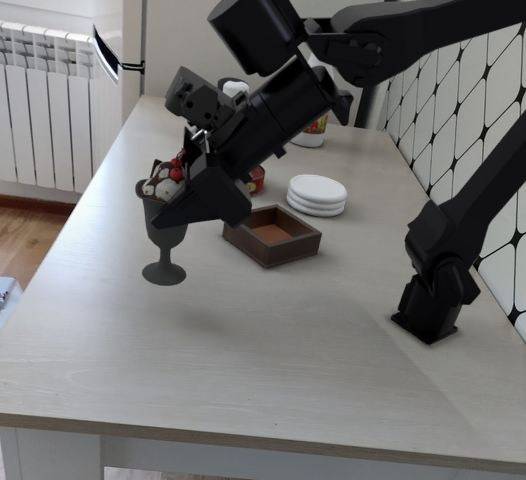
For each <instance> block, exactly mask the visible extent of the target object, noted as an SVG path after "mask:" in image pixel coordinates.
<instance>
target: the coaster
mask: <svg viewBox="0 0 526 480" xmlns="http://www.w3.org/2000/svg"><path fill="white" fill-rule="evenodd" d="M347 197H348V190H347V188H346V187H345V186H344V185H343V184H342V183H340V182H339V181H337V180H335V179H332V178H329V177H327V176H323V175H317V174H298V175H295V176H293V177H292V178H291V179H289V182H288V187H287V193H286V201H287V203H288V204H289V206H291V207H292V208H293V209H294V210H296V211H298V212H300V213H303V214H306V215H309V216H312V217H313V216H314V217H320V218H322V217H323V218H328V217H329V218H331V217H335V216H338V215H340V214H342V212H343V211H344V210H345V204H346V201H347Z"/></svg>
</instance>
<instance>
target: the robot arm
mask: <svg viewBox="0 0 526 480" xmlns="http://www.w3.org/2000/svg"><path fill="white" fill-rule="evenodd" d="M206 21H207V23H208V24H209V26H210V27H211V28H212V30H213V31H214V32H215V34H216V35H217V36H218V38H219V39H220V40H221V42H222V43H223V45H224V46H225V48H226V49H227V50H228V51H229V53H230V54H231V56H232V57H233V59H234V60H235V61H236V63H237V64H238V65H239V67H240V68H241V70H242V71H243V73H244V74H245V75H246V76H252V75H255V74H257V75H258V76H259V77H260V78H267V77H269V76H270V77H269V78H268V79H267V80H266V81H264V82H263V83H262V84H261V85H260V86H258V87H257V88H256V89H255V90H253V91H252V92H251V93H250V92H249V93H248V92H247V91H246V90H245V91H244V92H243V91H242V90H241V91H239V92H238V93H237V94H236V95H235V96H233V97H232V98H231V97H229V96H228V95H227V94H225V93H224V92H222V91H221V90H220V89H218V88H217V86H216V85H214V84H213V83H211V82H209V81H208V80H206V79H205V78H203V77H202V76H200V75H199V74H197V73H196V72H194V71H192V70H191V69H189V68H188V67H186V66H183V65H180V66H179V68H178V70H177V71H176V74H175V75H174V77H173V79H172V81H171V84H170V85H169V86H168V88H167V91H166V93H165V95H164V98H165V101H164V108H165V109H166V110H167V111H168V112H170V113H171V114H172V115H174V116H176V117H177V118H179V117H182V118H183V119H185V120H186V123H187V124H188V126H189V127H190V128H192V127H195V128H193V129H192V130H190V129H189V127H188V126H184V127H183V136H182V137H183V138H182V148H184V149H185V151H186V154H183V155H181V154H182V152H181V153H180V154H179V155H181V156H180V157H179V158H178V159H180V160H181V161H182V167H183V168H184V170H185V174H184V184H183V185H182V186H181V188H180V189H179V190H178V191H177V192H176V193H175V194H174V195H173V196H172V197H171V198H170V199H169V201H168V202H167V203H166V204H165V205H164V206H163V207H162V208H161V209H160V210H159V212H158V213H157V214H156V215H155V216H154V217H153V219H152V220H151V224H152V226H153V227H154V228H155V229H157V230H160V229H166V228H171V227H176V226H181V225H186V224H188V225H191V224H196V223H203V222H210V221H219V220H220V221H222V222H223V223H224V221H225V222H226V223H227V224H228V225H229V226H230V227H231V228H232V229H236V228H237V227H239V226H240V225H241V224H243V223H244V222H245V221H247V220H248V219H249V218H250V217H251V210H252V209H253V202H252V198H251V197H252V196H250V193H249V189H248V188H247V187H246V186H245V185H246V184H247V183H249V182H250V181H251V180H252V179H253V177H252V173H251V171H253V170H254V169H255V168H256V167H258V166H259V165H262V164H263V163H264V162H266V160H268V159H270V158H271V157H272V156H273V155H274V156H275V157H276V158H277V160H281V158H282V157H284V156H285V155H286V154H287V153H288V152H287V150H286V148H285V146H286V145H288V143H290V142H291V140H292V139H294V138H295V137H296V136H298V135H299V134H300V133H301V132H303V131H304V130H305V129H307V128H308V127H309V126H310V125H312V124H313V123H314V122H316V121H317V120H318V119H319V118H321V117H322V116H323V115H325V114H326V113H327V112H328V111H329V112H330V111H331V112H332V113H333V115H334V116H335V118H336V119H337V121H338V122H339V124H340V125H341V127H347V126H348V125H349V123H350V114H351V107H352V104H353V102H354V100H355V97H354V95H353V93H351V91H350V90H348V89H342V88H341V89H340V88H339V86H338V85H337V83H336V82H335V79H334V80H333V79H332V77H331V76H330V74H329V72H328V71H327V69H326V68H325V67H324V66H322V65H319V66H314V67H312V68H311V67H310V65H309V64H308V60H307V59H306V57H305V56H304V55H303V53H302V51H301V49H300V48H299V46H300V45H302V44H303V43H304V44H305V46H306V47H307V48H308V49H309V51H310V52H311V53H313V54H314V55H315V57H316V58H317V59H318V60H319V61H320V62H323V63H326V64H329V65H331V66H332V68H334V70H335V72H337V73H338V74H339V76H340V77H341V79H343V80H344V81H345V82H347V84H350V85H351V86H353V87H355V88H357V89H366V88H373V87H375V86H378V85H380V84H382V83H384V82H386V81H388V80H389V79H391V78H394V77H395V76H397V75H399V74H402V73H403V72H405V71H407V70H409V69H410V68H411V67H412V66H413V65H415V64H417V62H419V60H421V59H422V58H424V57H425V56H427V55H429V54H430V53H432V52H434V51H437V50H439V49H442V48H446V47H448V46H449V47H450V46H453V45H455V44H458V43H461V42H465V41H468V40H471V39H475V38H478V37H480V36H484V35H488V34H490V33H492V32H496V31H500V30H503V29H506V28H510V27H513V26H515V25H520V24H523V23H526V0H407V1H406V0H404V1H403V0H402V1H379V2H370V3H362V4H352V5H348V6H345V7H343V8H341V9H340V10H338V11H337V12H336V13H334V14H333V15H332V16H328V17H327V16H326V17H325V16H324V17H323V16H322V17H321V16H320V17H319V16H318V17H312V16H308V17H301V16H300V14H299V13H298V11H297V10H296V8H295V7H294V5H293V4H292V2H291V0H220V1H218V3H217V4H216V5H215V6H214V7H213V8H212V10H211V11H210V12H209V14H208V16H207V18H206ZM271 75H272V76H271ZM524 184H526V108H525V109H524V111H523V112H522V113H521V115H519V117H518V118H517V119H516V120H515V122H514V123H513V124H512V125H511V126H510V128H509V129H508V130H507V132H506V133H505V134H504V135H503V136H502V137H501V139H500V140H499V142H498V143H497V144H496V145H495V147H494V148H493V149H492V150H491V152H490V153H489V154H488V155H487V156H486V157H485V159H484V160H483V161H482V162H481V164H480V165H479V166H478V168H476V170H475V171H474V172H473V173H472V175H471V176H470V177H469V179H468V180H466V182H465V183H464V185H463V186H462V187H461V188H460V190H459V191H458V192H457V193H456V194H455V195H454V196H453V197H452V198H450V199H447V200H445V201H443V202H442V203H440V204H437V202H435V201H434V200H433V199H428V200H427V202H425V204H424V205H423V206H422V209H421V210H420V212H419V213H418V215H417V216H416V217H415V218H413V220H412V221H410V222H408V223H407V224H406V226H407V228H408V229H409V230H408V231H407V233H406V235H405V237H404V249H405V252H406V254H407V256H408V257H409V259H410V262H411V267H412V268H413V269H414V271H415V272H416V274H412V276H411V279H410V281H409V282H407V283H405V286H404V289H403V292H402V294H401V297H400V300H399V303H398V305H397V312H395V313H393V314H391V315H390V321H392V322H393V323H395V324H396V325H397V326H399V327H400V328H402V329H403V330H405V331H406V332H407V333H409V334H411V335H412V336H413V337H415V338H416V339H417V340H419V341H421V342H422V343H424V344H425V345H427V346H432V345H434V344H436V343H438V342H439V341H441V340H444V339H446V338H448V337H450V336H453V335H454V334H456V333H458V331H459V327H458V326H456V322H457V320H458V317H459V315H460V313H461V310H462V308H463V306H470V305H472V304H473V303H474V301H476V299H477V298H478V297H479V296H480V295H481V293H482V290H481V289H480V286H479V285H478V284H477V282H476V280H475V278H474V277H473V275H472V274H471V272H470V270H471V268H472V267H473V265H474V264H475V262H476V261H477V259H478V258H479V256H480V255H481V254H482V250H483V247H484V244H485V242H486V241H485V240H486V237H487V233H488V230H489V226H490V224H491V223H492V222H493V221H494V219H495V218H496V217H497V216H498V214H500V212H501V211H502V210H503V209H504V207H505V206H507V204H508V203H509V202H510V201H511V199H512V198H513V197H514V196H515V195H516V194H517V192H518V191H519V190H520V189H521V188H522V187H523V186H524Z"/></svg>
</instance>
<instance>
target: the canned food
mask: <svg viewBox="0 0 526 480" xmlns="http://www.w3.org/2000/svg"><path fill="white" fill-rule="evenodd" d="M251 173H252V177H253V179H252V180H251V181H250V182H249V183H247V184H246V185H245V186H246V187H247V188H248V189H249V193H250V197H253V196H257V195H259V194H261V193H262V192H263V189H264V183H265V177H266V170H265V168H264V167H263V166H262V164H260V165H259V166H258V167H256V168H255V169H254V170H253V171H251Z"/></svg>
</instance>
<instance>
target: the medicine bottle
mask: <svg viewBox="0 0 526 480" xmlns="http://www.w3.org/2000/svg"><path fill="white" fill-rule="evenodd" d="M216 85H217V86H216V87H217V88H218V89H220V90H221V91H222V92H224V93H225V94H227V95H228V96H229V97H231V98H232V97H233V96H235V95H236V94H237V93H238V92H239V91H241V90H242V91H243V92H244V91H245V90H246V91H247V92H248V93H249V94H250V85H249V83H248V82H246V81H245V80H243V79H240V78H237V77H229V76H228V77H222V78H220V79H218V80H217V84H216Z"/></svg>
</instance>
